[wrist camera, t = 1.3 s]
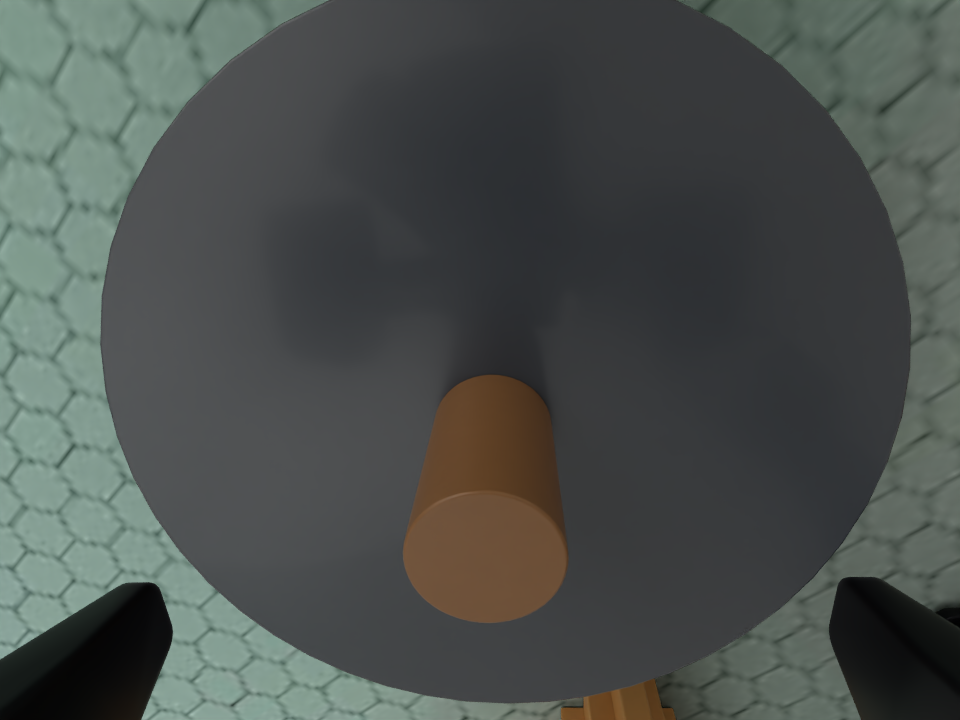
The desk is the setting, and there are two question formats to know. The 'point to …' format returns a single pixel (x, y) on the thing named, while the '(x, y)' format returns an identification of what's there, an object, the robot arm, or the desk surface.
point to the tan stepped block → (622, 705)
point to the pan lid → (505, 340)
